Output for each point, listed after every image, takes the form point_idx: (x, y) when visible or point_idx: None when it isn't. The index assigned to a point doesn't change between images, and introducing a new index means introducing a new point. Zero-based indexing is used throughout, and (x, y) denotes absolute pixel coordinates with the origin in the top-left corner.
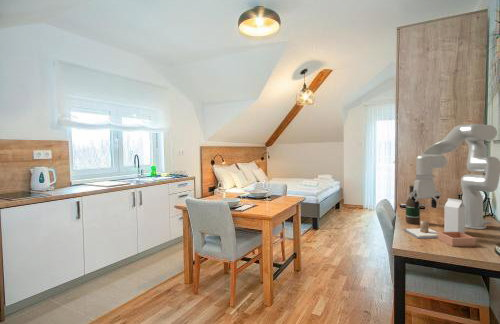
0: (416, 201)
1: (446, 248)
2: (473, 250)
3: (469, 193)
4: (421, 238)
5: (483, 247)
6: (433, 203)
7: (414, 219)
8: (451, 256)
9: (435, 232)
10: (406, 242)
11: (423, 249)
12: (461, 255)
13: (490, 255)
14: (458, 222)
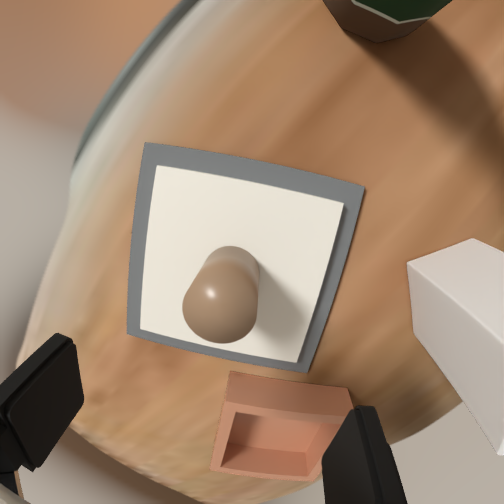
0: (12, 460)
1: (175, 444)
2: None
3: None
4: (147, 338)
5: None
6: (338, 495)
7: (365, 19)
8: (143, 472)
9: (296, 306)
10: None
11: (88, 419)
12: (178, 479)
13: (267, 495)
14: (448, 378)
